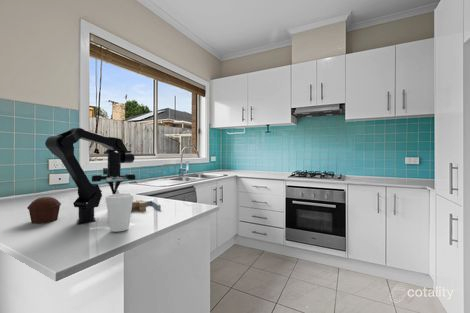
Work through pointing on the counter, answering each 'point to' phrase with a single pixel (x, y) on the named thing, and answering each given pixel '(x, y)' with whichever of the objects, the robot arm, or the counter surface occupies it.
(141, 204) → the T block
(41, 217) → the muffin
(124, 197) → the foam cup
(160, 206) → the corner fence
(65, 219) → the counter surface
